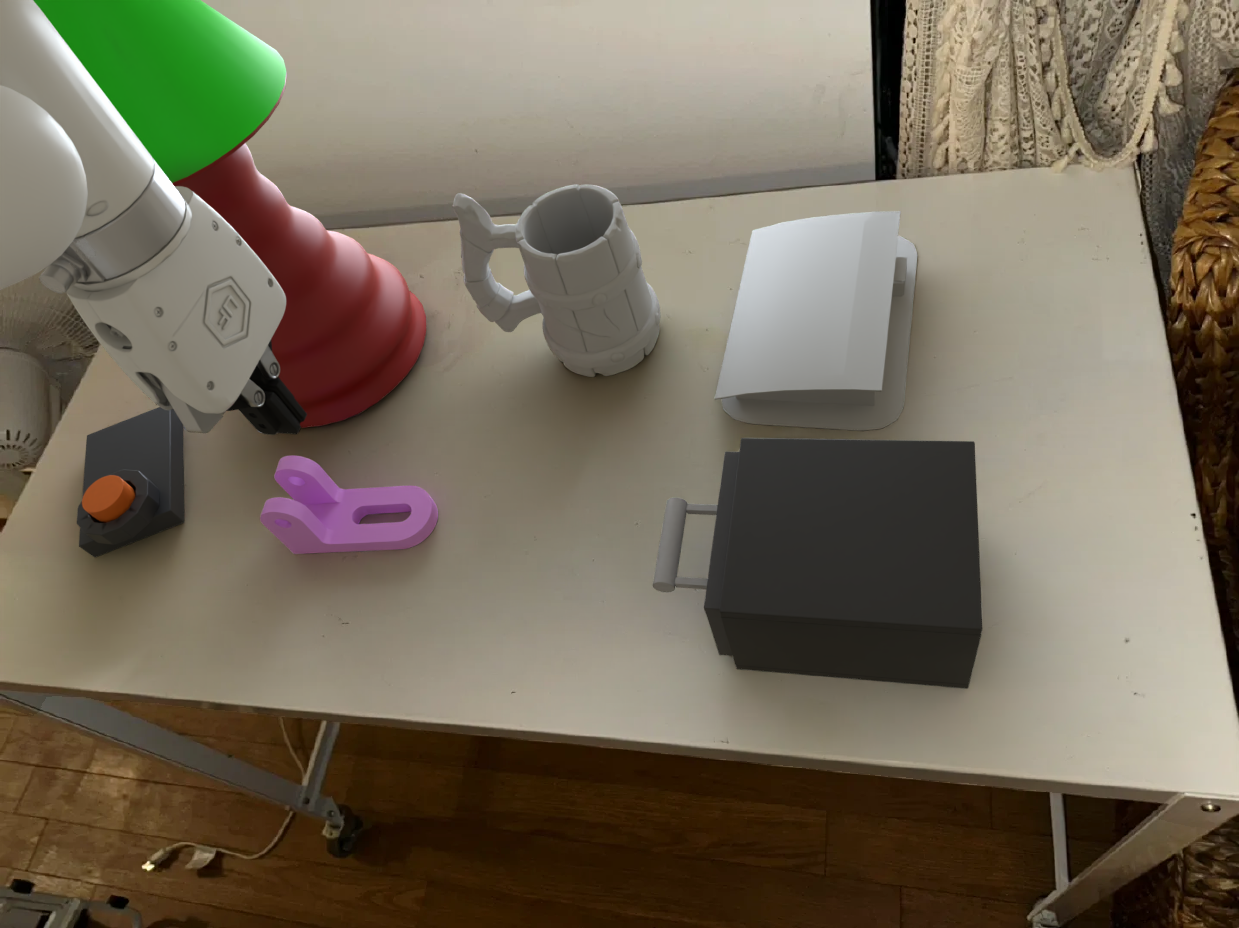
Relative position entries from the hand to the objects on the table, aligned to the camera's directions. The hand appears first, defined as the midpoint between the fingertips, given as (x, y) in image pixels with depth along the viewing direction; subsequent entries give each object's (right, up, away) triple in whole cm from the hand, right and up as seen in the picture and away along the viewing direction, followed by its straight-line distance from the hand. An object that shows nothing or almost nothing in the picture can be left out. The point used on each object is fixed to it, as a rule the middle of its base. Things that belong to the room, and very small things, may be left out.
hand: (284, 423), depth 64 cm
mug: (+19, +9, +24) cm, 32 cm away
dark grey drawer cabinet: (+40, -12, +3) cm, 42 cm away
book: (+41, +10, +18) cm, 46 cm away
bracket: (+1, -8, +17) cm, 19 cm away
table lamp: (-6, +8, +30) cm, 32 cm away
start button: (-23, -6, +20) cm, 31 cm away
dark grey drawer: (+36, -11, +4) cm, 38 cm away
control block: (-23, -5, +26) cm, 35 cm away
